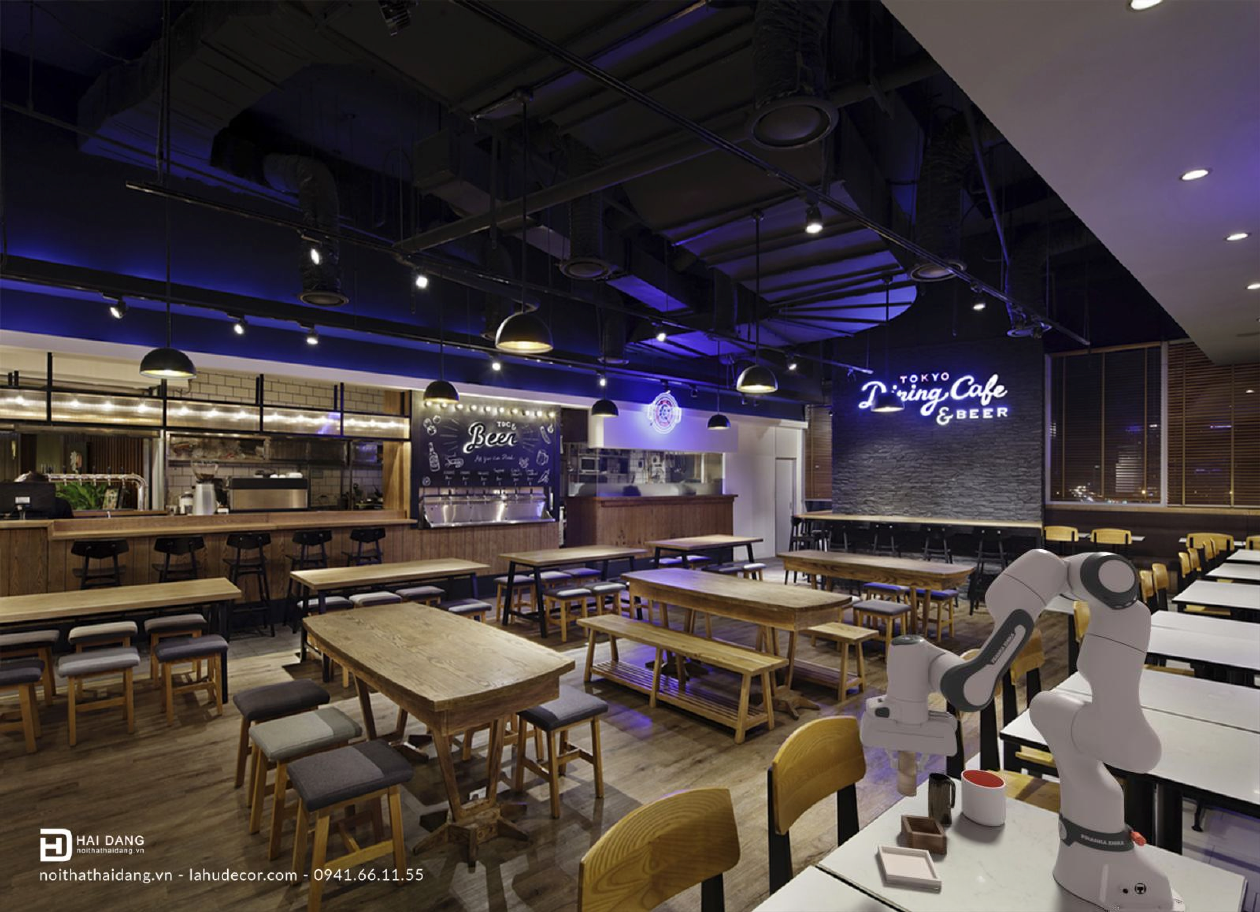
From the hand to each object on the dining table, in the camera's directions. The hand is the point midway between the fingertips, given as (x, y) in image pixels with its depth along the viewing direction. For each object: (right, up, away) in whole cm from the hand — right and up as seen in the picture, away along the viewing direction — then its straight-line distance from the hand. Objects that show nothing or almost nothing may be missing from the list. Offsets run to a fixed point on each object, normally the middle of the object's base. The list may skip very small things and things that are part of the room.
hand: (906, 769), depth 141 cm
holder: (+8, -22, +9) cm, 25 cm away
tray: (-1, -22, -2) cm, 22 cm away
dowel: (0, -5, 0) cm, 5 cm away
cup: (+29, -23, +19) cm, 41 cm away
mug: (+17, -22, +17) cm, 33 cm away
